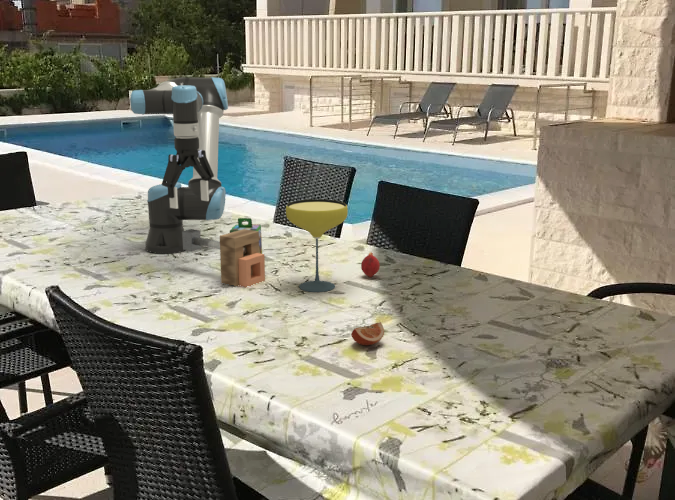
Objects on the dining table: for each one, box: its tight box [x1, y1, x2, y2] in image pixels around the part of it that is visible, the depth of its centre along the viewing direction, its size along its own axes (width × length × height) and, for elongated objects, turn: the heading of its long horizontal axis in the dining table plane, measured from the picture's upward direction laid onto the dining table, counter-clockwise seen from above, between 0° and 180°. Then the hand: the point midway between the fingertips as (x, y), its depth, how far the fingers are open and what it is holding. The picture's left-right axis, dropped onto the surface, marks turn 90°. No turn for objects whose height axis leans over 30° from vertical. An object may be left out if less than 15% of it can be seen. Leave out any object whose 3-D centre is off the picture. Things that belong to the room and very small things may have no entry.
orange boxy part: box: [238, 253, 266, 288], centre depth 230 cm, size 3×8×8 cm, turn 146°
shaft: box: [182, 228, 247, 254], centre depth 237 cm, size 24×4×6 cm, turn 56°
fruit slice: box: [350, 321, 385, 346], centre depth 182 cm, size 8×7×5 cm
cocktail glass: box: [285, 198, 349, 293], centre depth 224 cm, size 18×18×25 cm
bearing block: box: [219, 229, 259, 287], centre depth 232 cm, size 6×11×15 cm, turn 146°
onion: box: [360, 251, 381, 278], centre depth 236 cm, size 6×6×8 cm
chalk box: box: [229, 217, 263, 254], centre depth 255 cm, size 9×9×15 cm
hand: (189, 204), depth 240 cm, fingers open, 13 cm apart
